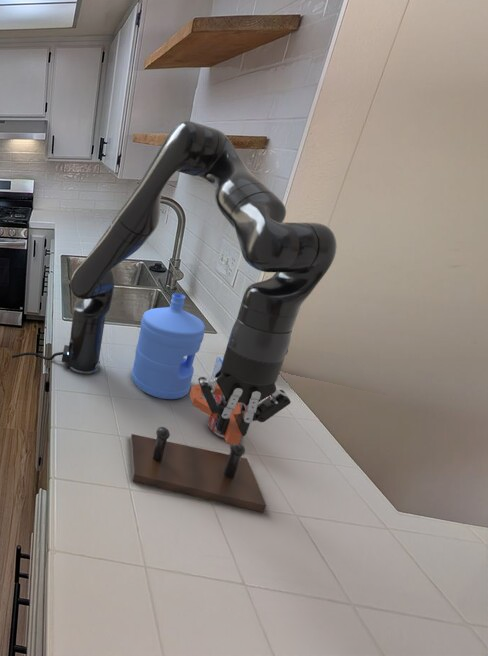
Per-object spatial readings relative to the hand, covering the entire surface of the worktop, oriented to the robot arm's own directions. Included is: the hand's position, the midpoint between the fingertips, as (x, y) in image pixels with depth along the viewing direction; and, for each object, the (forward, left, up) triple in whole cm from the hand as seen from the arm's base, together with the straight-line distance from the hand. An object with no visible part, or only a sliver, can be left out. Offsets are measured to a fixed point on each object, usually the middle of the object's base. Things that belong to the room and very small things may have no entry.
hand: (228, 432), depth 67 cm
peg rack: (-1, +9, -19) cm, 21 cm away
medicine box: (+13, +43, -20) cm, 49 cm away
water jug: (-4, +41, -20) cm, 45 cm away
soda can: (+9, +25, -20) cm, 33 cm away
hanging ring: (0, +5, 0) cm, 5 cm away
